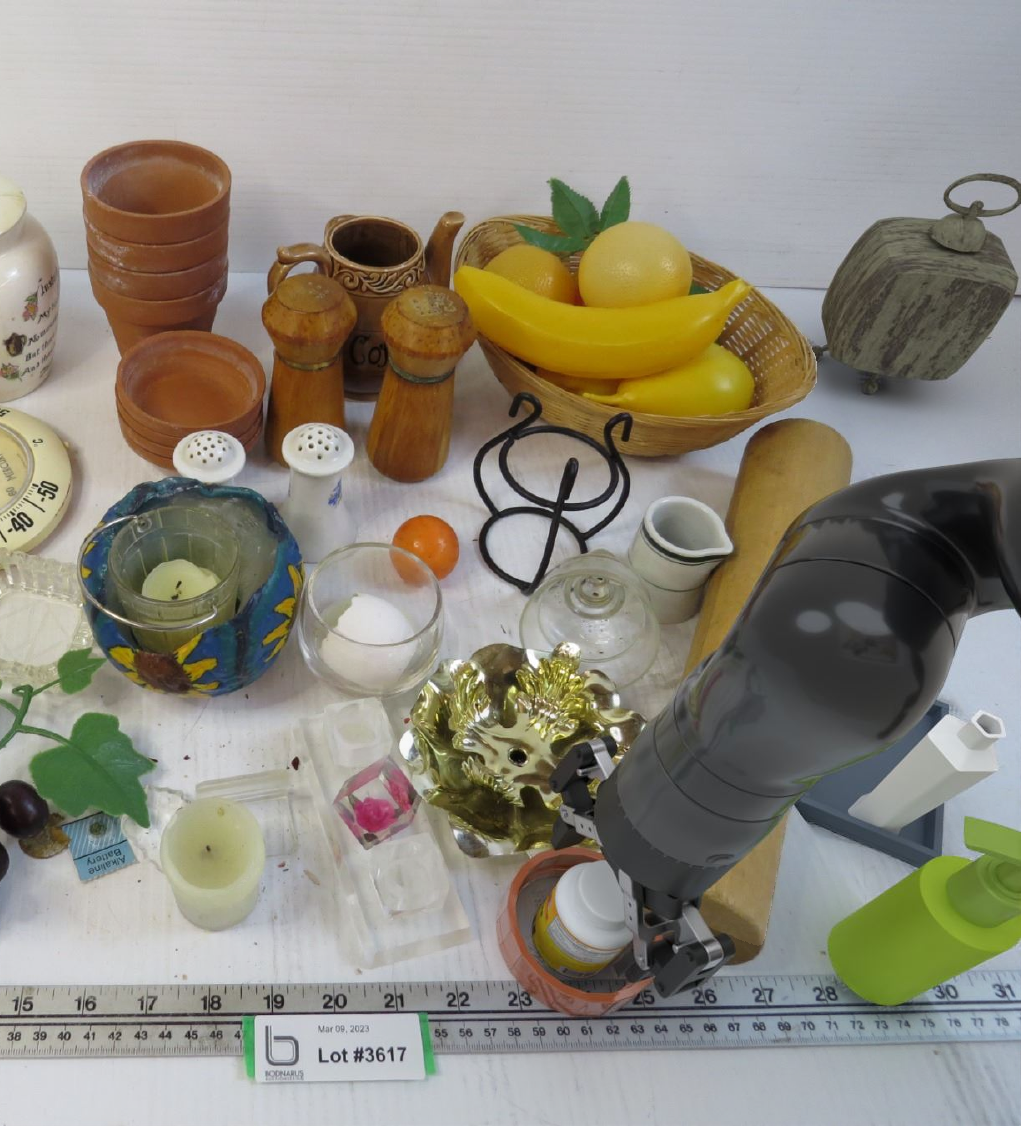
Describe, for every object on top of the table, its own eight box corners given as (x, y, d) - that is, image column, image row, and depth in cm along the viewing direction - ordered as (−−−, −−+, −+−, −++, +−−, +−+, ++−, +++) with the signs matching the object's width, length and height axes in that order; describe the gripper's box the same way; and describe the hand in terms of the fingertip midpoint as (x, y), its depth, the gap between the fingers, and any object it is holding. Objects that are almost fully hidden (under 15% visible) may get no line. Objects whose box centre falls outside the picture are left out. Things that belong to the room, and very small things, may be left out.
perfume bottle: (833, 827, 75) (946, 732, 63) (847, 785, 77) (958, 686, 65) (894, 860, 73) (1021, 769, 62) (907, 817, 75) (1031, 721, 64)
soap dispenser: (807, 905, 71) (970, 782, 55) (906, 948, 69) (1103, 834, 54) (797, 979, 67) (969, 871, 52) (901, 1027, 66) (1111, 929, 50)
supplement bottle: (566, 889, 70) (610, 831, 63) (622, 954, 68) (675, 903, 60) (510, 930, 68) (548, 876, 61) (565, 1000, 66) (612, 952, 58)
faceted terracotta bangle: (667, 996, 66) (694, 975, 62) (533, 1043, 64) (552, 1024, 60) (592, 857, 73) (613, 829, 69) (468, 895, 70) (482, 869, 66)
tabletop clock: (920, 368, 112) (1066, 164, 93) (936, 418, 107) (1095, 213, 87) (793, 346, 114) (909, 142, 94) (802, 395, 108) (928, 189, 89)
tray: (925, 871, 73) (941, 860, 71) (787, 812, 76) (800, 800, 74) (935, 717, 82) (949, 704, 80) (811, 669, 84) (823, 656, 83)
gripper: (837, 906, 47) (705, 996, 59) (678, 667, 55) (592, 791, 68) (705, 950, 45) (598, 1033, 58) (563, 697, 53) (496, 818, 66)
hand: (595, 902), depth 63 cm, fingers open, 8 cm apart
